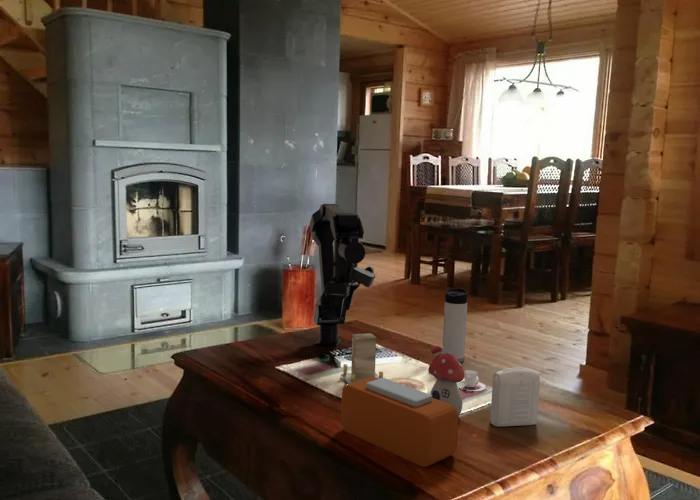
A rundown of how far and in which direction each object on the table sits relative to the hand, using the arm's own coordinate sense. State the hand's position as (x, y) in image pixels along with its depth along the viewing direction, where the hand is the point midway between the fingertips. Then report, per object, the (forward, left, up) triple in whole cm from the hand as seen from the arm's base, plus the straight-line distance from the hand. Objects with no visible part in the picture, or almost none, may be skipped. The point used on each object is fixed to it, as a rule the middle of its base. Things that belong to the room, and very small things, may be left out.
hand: (343, 313), depth 184 cm
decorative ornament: (+32, +32, -13) cm, 47 cm away
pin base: (+16, +10, -13) cm, 23 cm away
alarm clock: (+49, +24, -13) cm, 57 cm away
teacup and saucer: (+10, +39, -14) cm, 42 cm away
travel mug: (-10, +30, -13) cm, 34 cm away
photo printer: (+32, +47, -13) cm, 58 cm away
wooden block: (+16, +10, -12) cm, 23 cm away
